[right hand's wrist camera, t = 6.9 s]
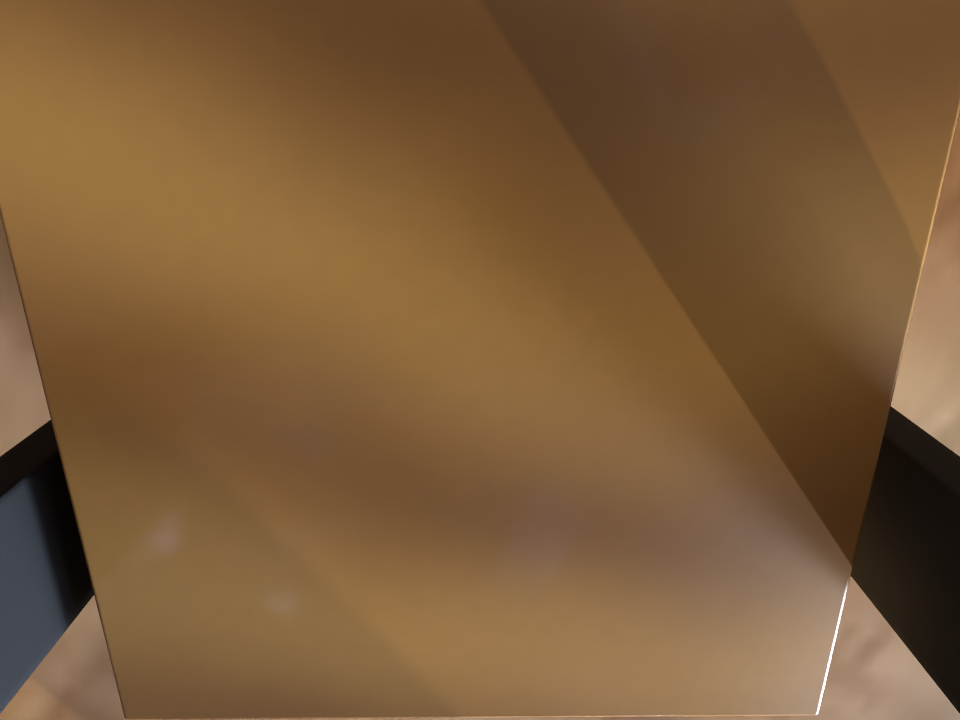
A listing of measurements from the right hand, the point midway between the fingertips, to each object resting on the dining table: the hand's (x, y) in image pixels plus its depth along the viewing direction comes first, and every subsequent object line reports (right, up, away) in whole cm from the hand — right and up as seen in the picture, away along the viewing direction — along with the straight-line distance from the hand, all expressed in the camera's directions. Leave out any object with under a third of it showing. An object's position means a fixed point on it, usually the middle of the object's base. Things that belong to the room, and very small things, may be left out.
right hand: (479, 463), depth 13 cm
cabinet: (0, +9, +3) cm, 9 cm away
